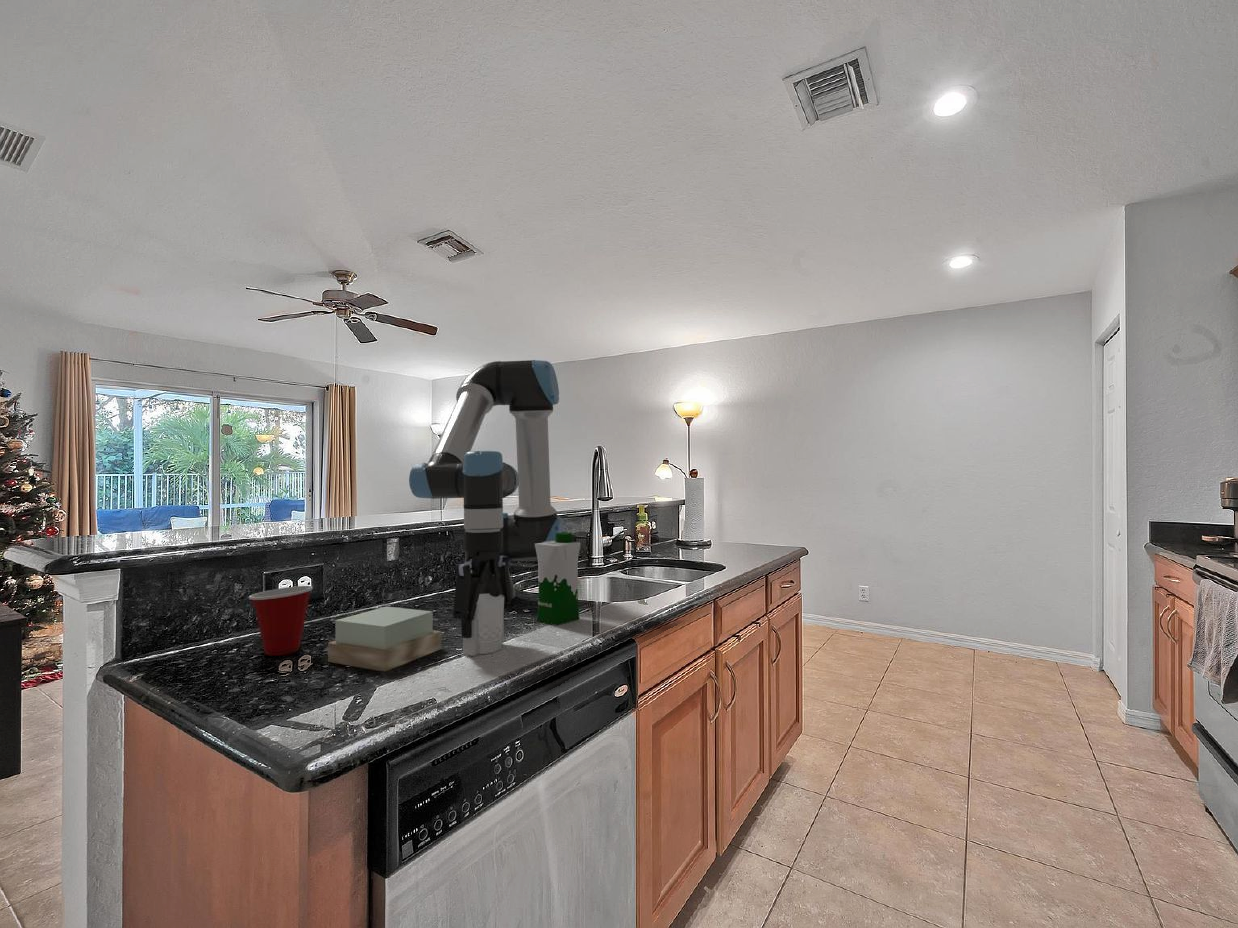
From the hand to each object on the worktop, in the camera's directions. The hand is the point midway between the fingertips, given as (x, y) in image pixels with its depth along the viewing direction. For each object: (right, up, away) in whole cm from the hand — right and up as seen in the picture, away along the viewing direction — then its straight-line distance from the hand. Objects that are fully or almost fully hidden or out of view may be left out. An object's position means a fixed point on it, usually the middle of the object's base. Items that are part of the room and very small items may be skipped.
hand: (483, 647), depth 110 cm
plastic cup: (-39, -1, 0) cm, 39 cm away
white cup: (0, 0, 0) cm, 0 cm away
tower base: (-18, -1, -3) cm, 18 cm away
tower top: (-18, +3, -3) cm, 18 cm away
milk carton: (+12, -1, +22) cm, 25 cm away
